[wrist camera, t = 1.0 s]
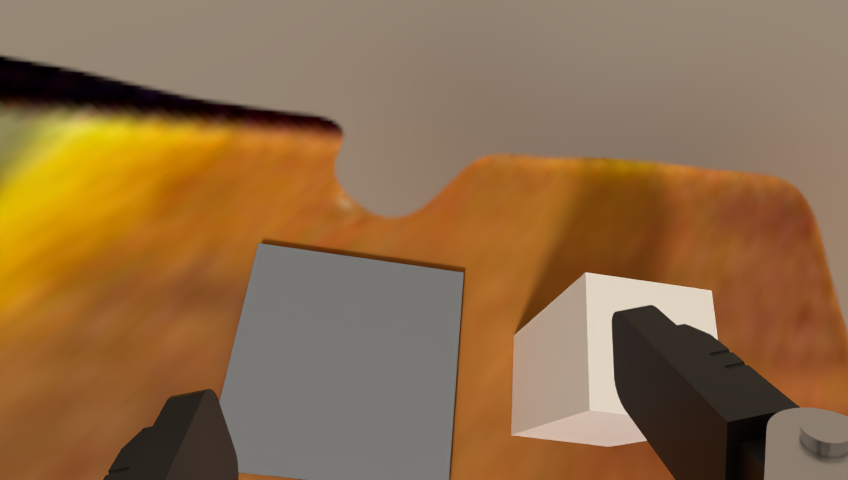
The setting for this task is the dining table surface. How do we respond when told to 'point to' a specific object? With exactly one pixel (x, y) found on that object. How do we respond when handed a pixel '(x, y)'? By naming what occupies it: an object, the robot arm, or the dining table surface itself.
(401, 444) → the mat
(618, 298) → the cream rectangular box
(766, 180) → the dining table surface
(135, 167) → the dining table surface
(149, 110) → the dining table surface
